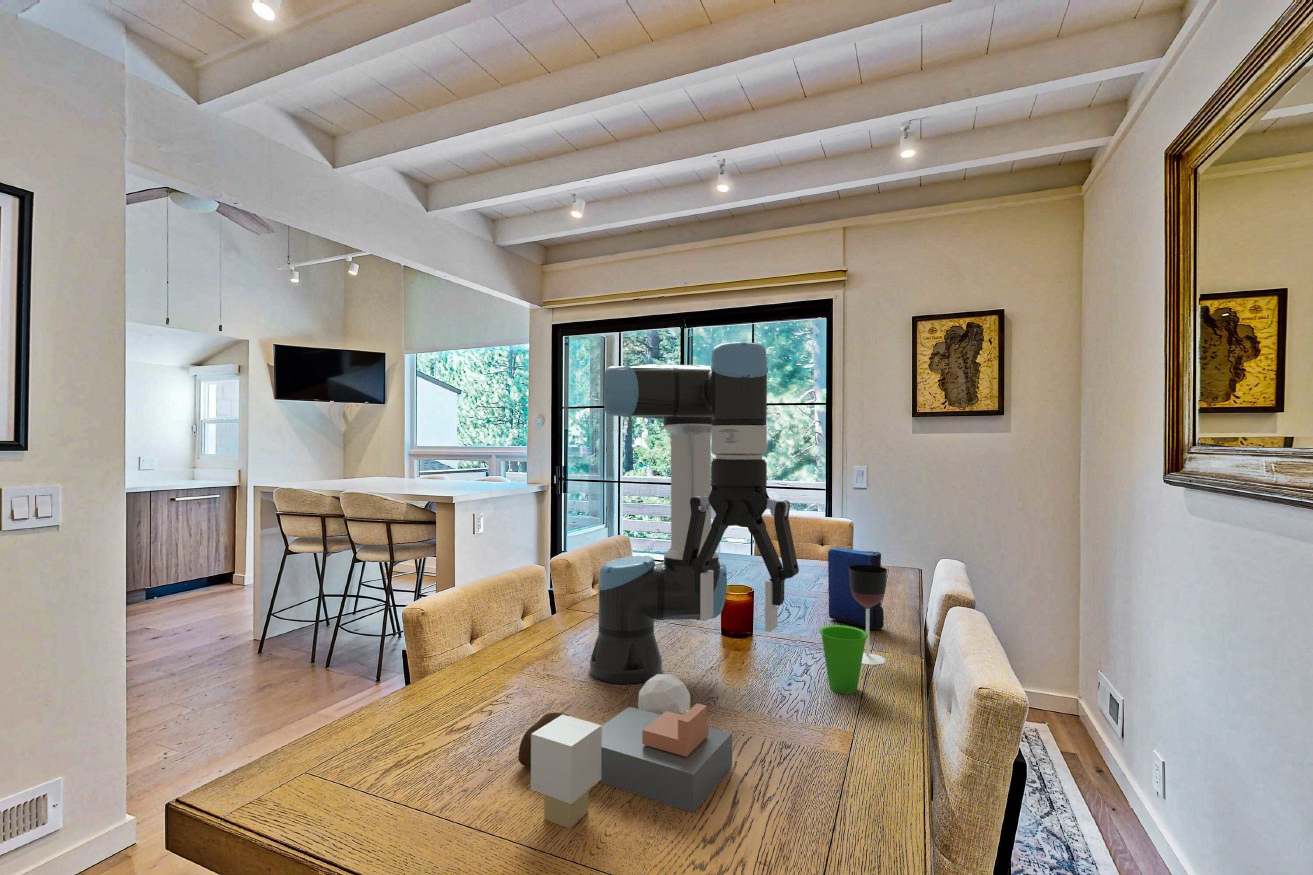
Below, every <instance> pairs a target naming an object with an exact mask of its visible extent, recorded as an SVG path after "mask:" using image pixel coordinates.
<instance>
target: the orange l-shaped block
mask: <svg viewBox="0 0 1313 875" xmlns="http://www.w3.org/2000/svg"><path fill="white" fill-rule="evenodd" d="M707 714H708V706H707V705H705V704H701V703H695V705H693V706H692V707H690V710H689V711H687V712H686V713H685V714H684V715H680V714H676V713H672V712H668V711H666V712H664V713H663V714H662V715H661V716H659V717H658V718H657V719H656V720H654V721H653V722H652V723H651V724H649V725H648V726H647V727H646V728H644V729H643V730H642V744H644V745H647V746H651V747H654V748H658V749H661V750H664V751H668V752H671V753H675V754H678V755H682V756H685V757H687V756H688V755H689V754H690V753H691V752H692V751H693V750H694V749H695V748H696V747H697V746H698V745H699V744H700V743H701V742H702V741H703V740H704V739H705V738H706V737H707V736H708V727H709V721H708V717H707Z"/></svg>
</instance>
